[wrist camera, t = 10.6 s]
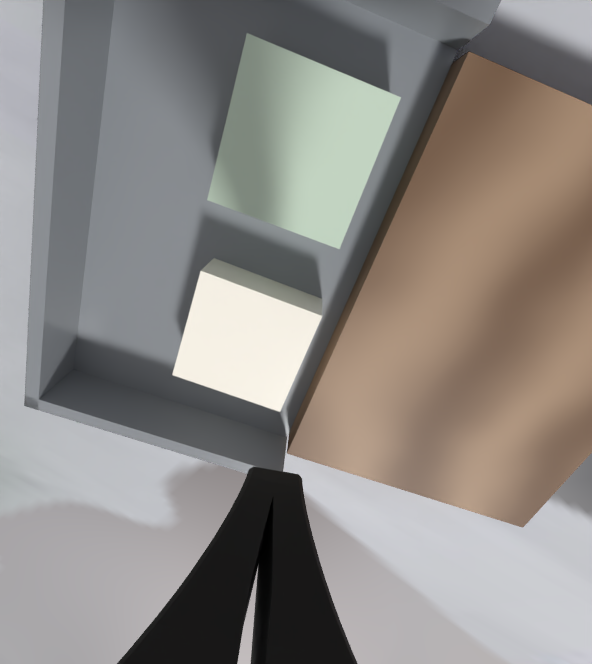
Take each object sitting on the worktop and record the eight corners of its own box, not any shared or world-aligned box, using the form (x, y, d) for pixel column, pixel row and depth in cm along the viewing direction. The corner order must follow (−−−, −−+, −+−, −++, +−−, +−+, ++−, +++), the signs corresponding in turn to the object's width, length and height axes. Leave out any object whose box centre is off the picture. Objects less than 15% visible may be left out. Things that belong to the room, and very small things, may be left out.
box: (463, 32, 13) (501, -2, 10) (283, 440, 21) (278, 483, 18) (114, -122, 12) (52, -207, 9) (65, 371, 20) (24, 405, 17)
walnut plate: (756, 198, 14) (819, 204, 13) (505, 496, 21) (522, 527, 20) (448, 66, 13) (468, 51, 11) (289, 426, 20) (286, 453, 18)
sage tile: (390, 105, 13) (401, 97, 12) (337, 238, 16) (339, 249, 14) (257, 50, 13) (246, 32, 11) (220, 195, 15) (207, 200, 13)
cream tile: (322, 298, 17) (322, 316, 15) (283, 387, 19) (279, 412, 17) (213, 258, 16) (200, 270, 14) (186, 353, 18) (172, 374, 16)
